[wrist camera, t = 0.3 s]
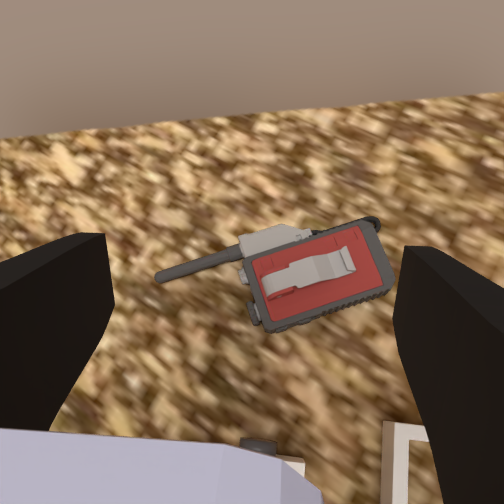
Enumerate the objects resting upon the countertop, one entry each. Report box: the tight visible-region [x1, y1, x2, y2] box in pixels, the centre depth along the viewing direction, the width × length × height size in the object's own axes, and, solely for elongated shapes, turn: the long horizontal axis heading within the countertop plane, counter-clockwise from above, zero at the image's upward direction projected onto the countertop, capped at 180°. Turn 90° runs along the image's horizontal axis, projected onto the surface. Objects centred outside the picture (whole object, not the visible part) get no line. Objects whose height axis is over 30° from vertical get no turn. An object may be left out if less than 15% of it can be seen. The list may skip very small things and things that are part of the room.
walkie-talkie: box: [154, 216, 396, 334], centre depth 40 cm, size 9×4×20 cm
